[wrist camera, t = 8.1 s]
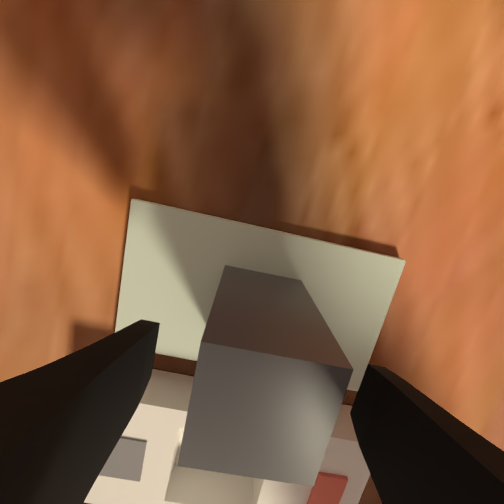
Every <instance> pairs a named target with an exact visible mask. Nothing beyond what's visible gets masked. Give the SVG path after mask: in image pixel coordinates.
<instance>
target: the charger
mask: <svg viewBox="0 0 504 504" xmlns="http://www.w3.org/2000/svg"><path fill="white" fill-rule="evenodd" d="M353 370H354V369H353V368H352V366H351V364H350V362H349V361H348V359H347V357H346V356H345V354H344V352H343V351H342V349H341V347H340V345H339V344H338V342H337V340H336V339H335V337H334V335H333V334H332V332H331V330H330V328H329V327H328V325H327V323H326V322H325V320H324V318H323V317H322V315H321V313H320V311H319V310H318V308H317V306H316V305H315V303H314V301H313V300H312V298H311V296H310V294H309V293H308V291H307V289H306V288H305V286H304V284H303V283H302V281H301V280H297V279H292V278H287V277H282V276H277V275H272V274H267V273H262V272H257V271H252V270H247V269H242V268H237V267H232V266H227V265H225V267H224V270H223V273H222V276H221V279H220V283H219V286H218V289H217V292H216V295H215V298H214V301H213V305H212V308H211V311H210V314H209V317H208V320H207V323H206V327H205V330H204V333H203V336H202V339H201V343H200V348H199V353H198V359H197V364H196V369H195V374H194V380H193V385H192V390H191V396H190V401H189V406H188V412H187V417H186V422H185V427H184V433H183V438H182V443H181V449H180V454H179V459H178V465H177V466H181V467H187V468H194V469H200V470H207V471H213V472H220V473H226V474H233V475H239V476H246V477H252V478H259V479H265V480H272V481H278V482H285V483H291V484H298V485H304V486H311V487H314V484H315V481H316V478H317V475H318V472H319V470H320V467H321V464H322V461H323V458H324V455H325V452H326V449H327V446H328V443H329V440H330V437H331V434H332V431H333V429H334V426H335V423H336V420H337V417H338V414H339V411H340V408H341V405H342V402H343V399H344V396H345V393H346V390H347V388H348V385H349V382H350V379H351V376H352V373H353Z"/></svg>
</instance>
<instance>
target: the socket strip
mask: <svg viewBox="0 0 504 504" xmlns="http://www.w3.org/2000/svg"><path fill="white" fill-rule="evenodd" d="M193 380H194V376H188V375H183V374H178V373H172V372H167V371H162V370H156V369H152V375H151V378H150V380H149V383H148V385H147V387H146V390H145V392H144V394H143V397H142V399H141V401H140V403H139V405H138V407H137V409H136V411H135V413H134V415H133V416H132V418H131V420H130V422H129V423H128V425H127V427H126V429H125V430H124V432H123V434H122V436H121V437H120V439H119V441H118V443H117V444H116V446H115V448H114V449H113V451H112V453H111V455H110V456H109V458H108V460H107V462H106V463H105V465H104V467H103V469H102V470H101V472H100V474H99V475H98V477H97V479H96V481H95V482H94V484H93V486H92V488H91V490H90V491H89V493H88V495H87V497H86V499H85V501H84V503H91V504H358V503H359V500H360V498H361V496H362V493H363V491H364V488H365V486H366V484H367V481H368V479H369V476H370V472H369V469H368V467H367V464H366V462H365V459H364V457H363V455H362V452H361V449H360V447H359V444H358V441H357V437H356V434H355V431H354V427H353V423H352V419H351V415H350V411H351V409H352V406H350V405H344V404H342V405H341V408H340V411H339V414H338V417H337V420H336V423H335V426H334V429H333V431H332V434H331V437H330V440H329V443H328V446H327V449H326V452H325V455H324V458H323V461H322V464H321V467H320V470H319V472H318V475H317V478H316V481H315V484H314V487H311V486H304V485H298V484H291V483H285V482H278V481H272V480H265V479H259V478H252V477H246V476H239V475H233V474H226V473H220V472H213V471H207V470H200V469H194V468H187V467H181V466H177V465H178V459H179V454H180V449H181V443H182V438H183V433H184V427H185V422H186V417H187V412H188V406H189V401H190V396H191V390H192V385H193Z"/></svg>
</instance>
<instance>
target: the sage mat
mask: <svg viewBox="0 0 504 504" xmlns="http://www.w3.org/2000/svg"><path fill="white" fill-rule="evenodd" d="M405 263H406V260H403V259H401V258H398V257H394V256H389V255H385V254H380V253H376V252H372V251H367V250H363V249H358V248H354V247H349V246H345V245H340V244H336V243H332V242H327V241H323V240H318V239H314V238H309V237H305V236H300V235H296V234H291V233H287V232H283V231H278V230H274V229H269V228H265V227H260V226H256V225H251V224H247V223H243V222H238V221H234V220H229V219H225V218H220V217H216V216H211V215H207V214H203V213H198V212H194V211H189V210H185V209H180V208H176V207H171V206H167V205H162V204H158V203H154V202H149V201H145V200H140V199H131V205H130V214H129V222H128V230H127V238H126V246H125V254H124V263H123V271H122V279H121V287H120V295H119V303H118V311H117V320H116V328H115V332H117V331H119V330H121V329H123V328H125V327H127V326H129V325H131V324H133V323H135V322H137V321H139V320H141V319H143V320H148V321H153V322H158V323H160V326H159V332H158V339H157V345H156V351H155V353H157V354H162V355H167V356H173V357H178V358H183V359H189V360H194V361H197V359H198V353H199V348H200V343H201V339H202V336H203V333H204V330H205V327H206V323H207V320H208V317H209V314H210V311H211V308H212V305H213V301H214V298H215V295H216V292H217V289H218V286H219V283H220V279H221V276H222V273H223V270H224V267H225V265H227V266H232V267H237V268H242V269H247V270H252V271H257V272H262V273H267V274H272V275H277V276H282V277H287V278H292V279H297V280H301V281H302V283H303V284H304V286H305V288H306V289H307V291H308V293H309V294H310V296H311V298H312V300H313V301H314V303H315V305H316V306H317V308H318V310H319V311H320V313H321V315H322V317H323V318H324V320H325V322H326V323H327V325H328V327H329V328H330V330H331V332H332V334H333V335H334V337H335V339H336V340H337V342H338V344H339V345H340V347H341V349H342V351H343V352H344V354H345V356H346V357H347V359H348V361H349V362H350V364H351V366H352V368H353V369H354V370H353V373H352V376H351V379H350V382H349V385H348V388H347V390H352V391H357V392H358V389H359V387H360V384H361V381H362V379H363V376H364V373H365V370H366V368H367V365H368V363H369V360H370V358H371V355H372V352H373V349H374V347H375V344H376V341H377V339H378V336H379V333H380V331H381V328H382V325H383V322H384V320H385V317H386V314H387V312H388V309H389V306H390V303H391V301H392V298H393V295H394V293H395V290H396V287H397V284H398V282H399V279H400V276H401V274H402V271H403V268H404V265H405Z"/></svg>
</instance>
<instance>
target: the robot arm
mask: <svg viewBox="0 0 504 504" xmlns="http://www.w3.org/2000/svg"><path fill="white" fill-rule="evenodd" d="M159 326H160V323H158V322H153V321H148V320H143V319H141V320H139V321H137V322H135V323H133V324H131V325H129V326H127V327H125V328H123V329H121V330H119V331H117V332H115V333H113V334H111V335H109V336H107V337H105V338H103V339H101V340H99V341H97V342H95V343H93V344H91V345H89V346H87V347H85V348H83V349H81V350H78V351H76V352H74V353H72V354H70V355H67V356H65V357H63V358H61V359H58V360H56V361H54V362H52V363H49V364H47V365H45V366H42V367H40V368H37V369H35V370H32V371H30V372H27V373H25V374H22V375H19V376H16V377H14V378H11V379H8V380H5V381H3V382H0V504H83V503H84V501H85V499H86V497H87V495H88V493H89V491H90V490H91V488H92V486H93V484H94V482H95V481H96V479H97V477H98V475H99V474H100V472H101V470H102V469H103V467H104V465H105V463H106V462H107V460H108V458H109V456H110V455H111V453H112V451H113V449H114V448H115V446H116V444H117V443H118V441H119V439H120V437H121V436H122V434H123V432H124V430H125V429H126V427H127V425H128V423H129V422H130V420H131V418H132V416H133V415H134V413H135V411H136V409H137V407H138V405H139V403H140V401H141V399H142V397H143V394H144V392H145V390H146V387H147V385H148V383H149V380H150V378H151V375H152V369H153V363H154V357H155V351H156V345H157V339H158V332H159ZM350 415H351V419H352V423H353V427H354V431H355V434H356V437H357V441H358V444H359V447H360V449H361V452H362V455H363V457H364V459H365V462H366V464H367V467H368V469H369V472H370V474H371V477H372V479H373V481H374V484H375V486H376V489H377V491H378V493H379V496H380V498H381V501H382V503H383V504H504V451H502V450H501V449H499V448H498V447H496V446H495V445H494V444H492V443H491V442H489V441H488V440H486V439H485V438H483V437H482V436H481V435H479V434H478V433H476V432H475V431H473V430H472V429H471V428H469V427H468V426H466V425H465V424H464V423H462V422H461V421H459V420H458V419H457V418H455V417H454V416H453V415H451V414H450V413H448V412H447V411H446V410H444V409H443V408H442V407H440V406H439V405H438V404H436V403H435V402H434V401H432V400H431V399H429V398H428V397H427V396H425V395H424V394H423V393H421V392H420V391H419V390H417V389H416V388H415V387H413V386H412V385H410V384H409V383H408V382H406V381H405V380H403V379H402V378H401V377H399V376H398V375H396V374H395V373H393V372H392V371H390V370H388V369H387V368H385V367H380V366H375V365H370V364H368V365H367V368H366V370H365V373H364V376H363V379H362V381H361V384H360V387H359V389H358V392H357V395H356V398H355V400H354V403H353V406H352V409H351V411H350Z"/></svg>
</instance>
